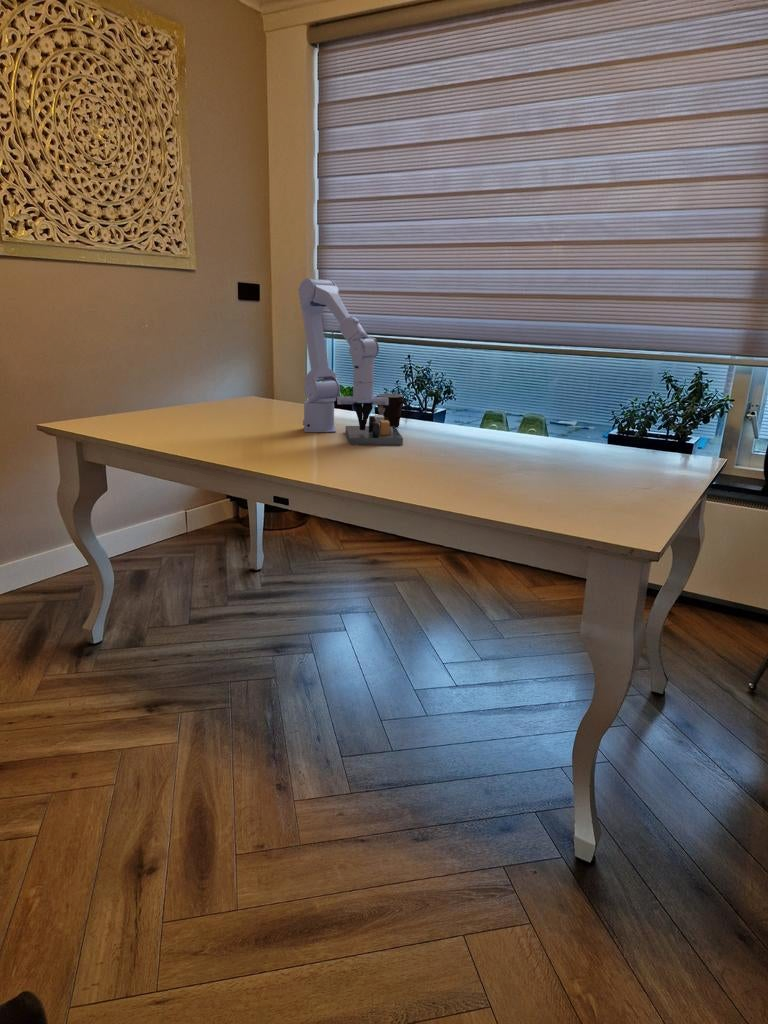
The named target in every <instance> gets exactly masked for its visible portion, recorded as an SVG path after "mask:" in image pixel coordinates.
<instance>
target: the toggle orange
mask: <svg viewBox="0 0 768 1024" xmlns="http://www.w3.org/2000/svg"><path fill="white" fill-rule="evenodd" d="M389 431H390V422H389V421H388V420H380V434H381V435H389Z"/></svg>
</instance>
